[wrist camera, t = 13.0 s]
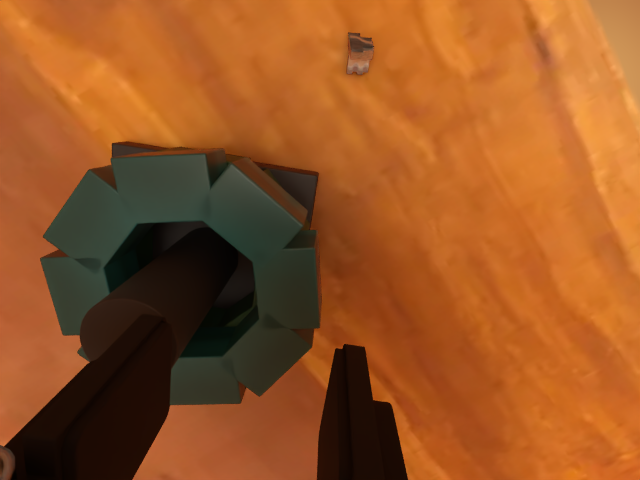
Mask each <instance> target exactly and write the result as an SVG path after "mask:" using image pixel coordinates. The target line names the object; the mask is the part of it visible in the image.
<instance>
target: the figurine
mask: <svg viewBox="0 0 640 480" xmlns="http://www.w3.org/2000/svg"><path fill="white" fill-rule="evenodd" d="M348 34H349V35H348V38H349V43H348V49H349V56H348V64H347V74H352V71H353V72H357V74H360V75H362V73H363V72H368V68H369V61H370V60H372V57H373V49H374V48H373V47H374V46H373V42H372V40H371V39H372V38H362V37H360V33H348Z"/></svg>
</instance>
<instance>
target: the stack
mask: <svg viewBox="0 0 640 480" xmlns="http://www.w3.org/2000/svg"><path fill="white" fill-rule="evenodd" d="M181 150H198V149H191V148H185V147H176V148H170V149H169V148H163V147H157V146H151V145H144V144H138V143H132V142H118V143H112V157H118V156H124V155H131V154H137V153H143V152H162V151H181ZM242 158H244V157H241V156H235V155H229V154H226V162H227V166H228V165H229V164H230V163H232V162H234V161H237V160H239V159H242ZM249 159H250V160H251V158H249ZM253 163H255V164H256V165H257V166H258V167H259V168H260V169H261V170H262V171H264V172H265V173H266V174H267V175H268V176H269V177H270V178H272V179H273V180H274V181H275V182H276V183H277V184H278V185H279V186H281V187H282V188H283V189H284V190H285V191H286V192H287V193H288V194H290V195H291V196H292V197H293V198H294V199H295V200H296V201H298V202H299V203H300V204H301V205H302V206H303V207H304V208H305V209H307V211H308V213H307V217H306V220H305V224H304V227H303V228H302V229H301V231H302V230H310V227H311V220H312V214H313V207H314V201H315V194H316V187H317V181H318V172H314V171H308V170H301V169H295V168H289V167H282V166H276V165H270V164H264V163H257V162H253ZM135 250H136V255H137V260H138V264H139V269H140V271H138V272H137V273H136V274H134V275H133V276H132V277H131V278H129V279H128V280H127V281H125V282H124V283H123V284H122V285H120V286H119V287H118V288H116V289H115V290H114V291H112V292H111V293H110V294H109V295H107V296H106V297H105V298H103V299H102V300H101V301H100V302H98V303H97V304H96V305H94V306H93V307H92V308H91V309H90V310H89V311H88V312H87V313H86V315H85V316H84V318H83V320H82V323H81V327H80V342H81V345H82V348H83V351H84V353H85V355H86V356H87V358H88V359H89V361H90V362H91V361H93V360H97V359H98V358H99V357H100V356H101V355H102V354H103V353H104V352H105V351H106V350H107V349H108V348H109V347H110V346H111V345H112V344H113V343H114V342H115V341H116V340H117V339H118V338H119V337H120V336H121V335H122V334H123V333H124V332H125V331H126V330H127V329H128V327H129V326H130V325H131V324H132V323H133V322H134V321H135V320H136V319H137V318H138V317H139V316H141V315H142V314H148V315H155V316H161V317H165V318H166V321H167V323H170V324H172V329H173V330H172V358H171V369H172V367H173V366H174V364H175V363H176V361H177V360H178V358H179V357H180V355H181V354H182V352H183V351H184V349H185V347H186V346H187V344H188V343H189V341H190V340H191V338H192V337H193V335H194V333H195V332H196V330H197V329H198V327H232V326H237V325H238V324H239V323H240V322H241V321H242V320H243V319H244V318H245V317H246V316H247V315H248V314H249V313H250V312H251V311H252V309H253V308H254V307H255V306H256V305H257V299H256V291H255V282H254V273H253V264H252V261H251V260H249V259H248V258H247V257H246V256H244V255H243V254H242V253H241V252H240V251H238V250H237V249H236V248H235V247H233V246H232V245H231V244H230V243H229V242H227V241H226V240H225V239H224V238H222V237H221V236H220V235H219V234H218V233H216V232H215V231H214V230H213V229H211V228H210V227H209V226H208V225H207V224H205V223H204V222H203V221H194V222H170V223H154V225H153V226H152V227H151V229H150V230H149V231H148V232H147V234H146V235H145V236H144V237H143V239H142V240H141V241H140V243H139V244H138V245H137V246H136V248H135Z"/></svg>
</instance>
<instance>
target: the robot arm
mask: <svg viewBox="0 0 640 480" xmlns="http://www.w3.org/2000/svg"><path fill="white" fill-rule="evenodd" d="M172 330H173V329H172V324H170V323H167V321H166V318H165V317H161V316H155V315H148V314H142V315H141V316H139V317H138V318H137V319H136V320H135V321H134V322H133V323H132V324H131V325H130V326H129V327H128V329H127V330H126V331H125V332H124V333H123V334H122V335H121V336H120V337H119V338H118V339H117V340H116V341H115V342H114V343H113V344H112V345H111V346H110V347H109V348H108V349H107V350H106V351H105V352H104V353H103V354H102V355H101V356H100V357H99V358H98V359H97V360H93V361H91V362H90V363H88V364H87V365H86V366H85V367H84V368H83V369H82V370H81V371H80V372H79V373H78V374H77V375H76V376H75V377H74V378H73V379H72V380H71V381H70V382H69V383H68V384H67V385H66V386H65V387H64V388H63V389H62V390H61V391H60V392H59V393H58V394H57V395H56V396H55V397H54V398H53V399H52V400H51V401H50V402H49V403H48V404H47V405H46V406H45V407H44V408H43V409H42V410H41V411H40V412H39V413H38V414H37V415H36V416H35V417H34V418H33V419H32V420H30V421H29V422H28V423H27V424H26V425H25V426H24V427H23V428H22V429H21V430H20V431H19V432H18V433H17V434H16V435H15V436H14V437H13V438H12V439H11V440H10V441H9V442H8V443H7V444H6V445H5V446H4V447H3V446H1V445H0V480H132V479H133V477H134V475H135V474H136V472H137V470H138V468H139V466H140V465H141V463H142V461H143V459H144V457H145V456H146V454H147V452H148V450H149V448H150V447H151V445H152V443H153V441H154V440H155V438H156V436H157V434H158V432H159V431H160V429H161V427H162V425H163V423H164V422H165V420H166V417H167V415H168V412H169V407H170V386H171V358H172ZM317 480H408V477H407V473H406V468H405V464H404V459H403V454H402V450H401V445H400V441H399V436H398V431H397V427H396V422H395V418H394V413H393V409H392V406H391V404H390V403H388V402H381V401H375V400H373V397H372V390H371V384H370V377H369V371H368V364H367V358H366V351H365V347H362V346H355V345H348V344H344V345H343V349H338V348H336V349H335V353H334V358H333V363H332V368H331V373H330V378H329V383H328V389H327V394H326V399H325V404H324V409H323V414H322V420H321V425H320V431H319V441H318V466H317Z"/></svg>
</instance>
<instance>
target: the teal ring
mask: <svg viewBox="0 0 640 480" xmlns="http://www.w3.org/2000/svg"><path fill="white" fill-rule="evenodd" d="M111 164H112V165H109V166H104V167H99V168H94V169H89V170H88V171H87V173H86V174H85V176H84V177H83V179H82V180H81V181H80V183H79V184H78V186H77V187H76V189H75V190H74V192H73V193H72V194H71V196H70V197H69V199H68V200H67V202H66V203H65V205H64V206H63V208H62V209H61V210H60V212H59V213H58V215H57V216H56V218H55V219H54V221H53V222H52V223H51V225H50V226H49V228H48V229H47V231H46V232H45V234H44V235H43V238H45V239H46V240H47V241H49V242H50V243H51V244H53V245H54V246H56V247H57V248H58V249H59V250H57V251H55V252H52V253H50V254H48V255H46V256H44V257H42V258H40V261H41V264H42V267H43V271H44V274H45V277H46V281H47V284H48V287H49V291H50V294H51V297H52V301H53V304H54V307H55V311H56V314H57V317H58V321H59V324H60V327H61V331H62V334H63V335H80V327H81V323H82V320H83V318H84V316H85V315H86V313H87V312H88V311H89V310H90V309H91V308H92V307H93V306H94V305H96V304H97V303H98V302H100V301H101V300H102V299H103V298H105V297H106V296H107V295H109V294H110V293H111V292H112V291H114V290H115V289H116V288H118V287H119V286H120V285H122V284H123V283H124V282H125V281H127V280H128V279H129V278H131V277H132V276H133V275H134V274H136V273H137V272H138V271H140V269H139V264H138V260H137V255H136V250H135V248H136V246H137V245H138V244H139V243H140V241H141V240H142V239H143V237H144V236H145V235H146V234H147V232H148V231H149V230H150V229H151V227H152V226H153V225H154V223H170V222H194V221H203V222H204V223H205V224H207V225H208V226H209V227H210V228H211V229H213V230H214V231H215V232H216V233H218V234H219V235H220V236H221V237H222V238H224V239H225V240H226V241H227V242H229V243H230V244H231V245H232V246H233V247H235V248H236V249H237V250H238V251H240V252H241V253H242V254H243V255H244V256H246V257H247V258H248V259H249V260H251V261H252V264H253V273H254V282H255V291H256V299H257V305H256V306H255V307H254V308H253V309H252V311H251V312H250V313H249V314H248V315H247V316H246V317H245V318H244V319H243V320H242V321H241V322H240V323H239V324H238V325H237V326H232V327H198V329H197V330H196V332H195V333H194V335H193V337H192V338H191V340H190V341H189V343H188V344H187V346H186V347H185V349H184V351H183V352H182V354H181V355H180V357H179V358H178V360H177V361H176V363H175V364H174V366H173V367H172V369H171V386H170V405H202V404H240V403H241V402H242V399H243V396H244V392H245V389H246V387H247V388H248V389H250V390H251V391H252V392H254V393H255V394H256V395H258V396H261V395H262V394H263V393H264V392H265V391H266V390H267V389H268V388H270V387H271V386H272V385H273V384H274V383H275V382H276V381H277V380H278V379H279V378H280V377H281V376H282V375H283V374H284V373H285V372H286V371H288V370H289V369H290V368H291V367H292V366H293V365H294V364H295V363H296V362H297V361H298V360H299V359H300V358H301V357H302V356H303V355H304V354H305V353H307V352H308V351H309V350H310V349H311V348H312V344H313V333H314V328H320V321H321V304H322V296H321V278H320V260H319V241H318V231H317V230H302V231H301V229H302V228H303V227H304V224H305V220H306V217H307V213H308V211H307V209H305V208H304V207H303V206H302V205H301V204H300V203H299V202H298V201H296V200H295V199H294V198H293V197H292V196H291V195H290V194H288V193H287V192H286V191H285V190H284V189H283V188H282V187H281V186H279V185H278V184H277V183H276V182H275V181H274V180H273V179H272V178H270V177H269V176H268V175H267V174H266V173H265V172H264V171H262V170H261V169H260V168H259V167H258V166H257V165H256V164H255V163H253V162H252V161H251V160H250V159H249V158H248V157H244V158H242V159H239V160H237V161H234V162H232V163H230V164H229V165H228V166H227V162H226V154H225V149H223V148H221V149H201V150H181V151H162V152H143V153H137V154H131V155H124V156H118V157H112V158H111ZM77 353H78V354H79V355H80V356H82V357H83V358H85V359H86V360H87V361H89V359H88V358H87V356H86V355H85V353H84V351H83V348H82V346H81V348H80V349H79V350H78V352H77ZM89 362H90V361H89Z"/></svg>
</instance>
